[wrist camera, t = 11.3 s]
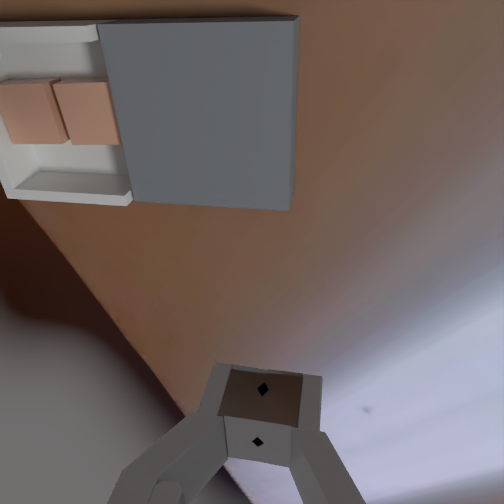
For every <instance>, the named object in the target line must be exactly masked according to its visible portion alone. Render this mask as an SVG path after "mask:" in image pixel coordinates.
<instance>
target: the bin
mask: <svg viewBox="0 0 504 504" xmlns="http://www.w3.org/2000/svg"><path fill="white" fill-rule="evenodd" d="M117 20H119V19H116V20H65V21H14V22H0V82H3V81H7V80H10V79H33V78H58V77H60V78H61V81H64V80H66V79H69V78H84V77H105V76H108V73H107V69H106V64H105V59H104V55H103V50H102V45H101V40H100V36H99V31H98V26H97V24H102V23H107V22H112V21H117ZM0 180H1V183H2V185H3V188H4V190H5V193H6V195H7V198H12V199H27V200H42V201H57V202H72V203H87V204H102V205H117V206H127V205H128V204H129V203H130V202H131V201H132V200H133V199H134V196H133V191H132V186H131V182H130V177H129V172H128V168H127V163H126V158H125V153H124V149H123V145H72V143H71V140H69V141H67V142H65V143H64V144H13V142H12V139H11V137H10V134H9V132H8V129H7V127H6V124H5V122H4V119H3V117H2V114H1V112H0Z"/></svg>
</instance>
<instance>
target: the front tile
mask: <svg viewBox="0 0 504 504" xmlns="http://www.w3.org/2000/svg"><path fill="white" fill-rule="evenodd" d="M53 88H54V91H55V94H56V97H57V100H58V103H59V106H60V109H61V112H62V115H63V118H64V121H65V124H66V127H67V131H68V134H69V137H70V140H71V143H72V145H123V144H122V139H121V135H120V130H119V125H118V120H117V116H116V111H115V106H114V102H113V97H112V92H111V87H110V83H109V78H108V76H105V77H84V78H69V79H66V80H64V81H61V82H58V83H55V84H53Z"/></svg>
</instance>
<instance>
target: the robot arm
mask: <svg viewBox="0 0 504 504" xmlns="http://www.w3.org/2000/svg"><path fill="white" fill-rule="evenodd" d="M322 381H323V379H322V376H315V375H307V374H304V375H303V373H294V372H286V371H277V370H269V369H268V370H264V369H257V368H251V367H245V366H239V365H232V364H225V363H218V362H216V363H215V365H214V366H213V368H212V371H211V374H210V377H209V379H208V382H207V385H206V388H205V391H204V394H203V397H202V400H201V403H200V406H199V409H198V412H191V413H190V414H189V415H188V416H186V417H185V418H184V419H183V420H182V421H180V422H179V423H178V424H177V425H176V426H175V427H173V428H172V429H171V430H170V431H169V432H167V433H166V434H165V435H164V436H163V437H162V438H160V439H159V440H158V441H157V442H156V443H154V444H153V445H152V446H151V447H150V448H148V449H147V450H146V451H145V452H144V453H142V455H140V456H139V457H138V458H137V459H135V460H134V461H133V462H132V463H131V464H130V465H128V466H127V467H126V468H125V469H124V470H122V472H121V474H120V477H119V479H118V481H117V483H116V485H115V487H114V490H113V492H112V494H111V496H110V498H109V501H108V503H107V504H189V503H190V502H191V501H192V500H193V499H194V497H195V496H196V495H197V494H198V493H199V492H200V490H201V489H202V488H203V487H204V486H205V484H207V482H208V481H209V480H210V479H211V478H212V477H213V475H214V474H215V473H216V472H217V471H218V470H219V469H220V467H221V466H222V465H223V464H224V463H225V462H226V461H227V459H228V458H227V457H231V458H238V459H245V460H252V461H259V462H264V463H269V464H274V465H279V466H284V467H289V468H290V471H291V474H292V476H293V479H294V481H295V484H296V486H297V489H298V491H299V494H300V496H301V499H302V501H303V504H366V503H365V501H364V499H363V498H362V496H361V494H360V492H359V491H358V489H357V487H356V485H355V484H354V482H353V480H352V478H351V477H350V475H349V473H348V471H347V470H346V468H345V466H344V464H343V463H342V461H341V459H340V457H339V456H338V454H337V452H336V450H335V449H334V447H333V445H332V443H331V442H330V440H329V438H328V436H327V435H326V433H325V432H321V431H320V415H321V398H322Z"/></svg>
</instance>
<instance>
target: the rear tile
mask: <svg viewBox="0 0 504 504" xmlns="http://www.w3.org/2000/svg"><path fill="white" fill-rule="evenodd" d="M58 82H61V78H60V77H58V78H33V79H10V80H7V81H3V82H0V112H1V114H2V117H3V119H4V122H5V124H6V127H7V129H8V132H9V134H10V137H11V139H12V142H13V144H64V143H65V142H67V141H69V140H70V137H69V134H68V131H67V127H66V124H65V121H64V118H63V115H62V112H61V109H60V106H59V103H58V100H57V97H56V94H55V91H54V88H53V84H55V83H58Z"/></svg>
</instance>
